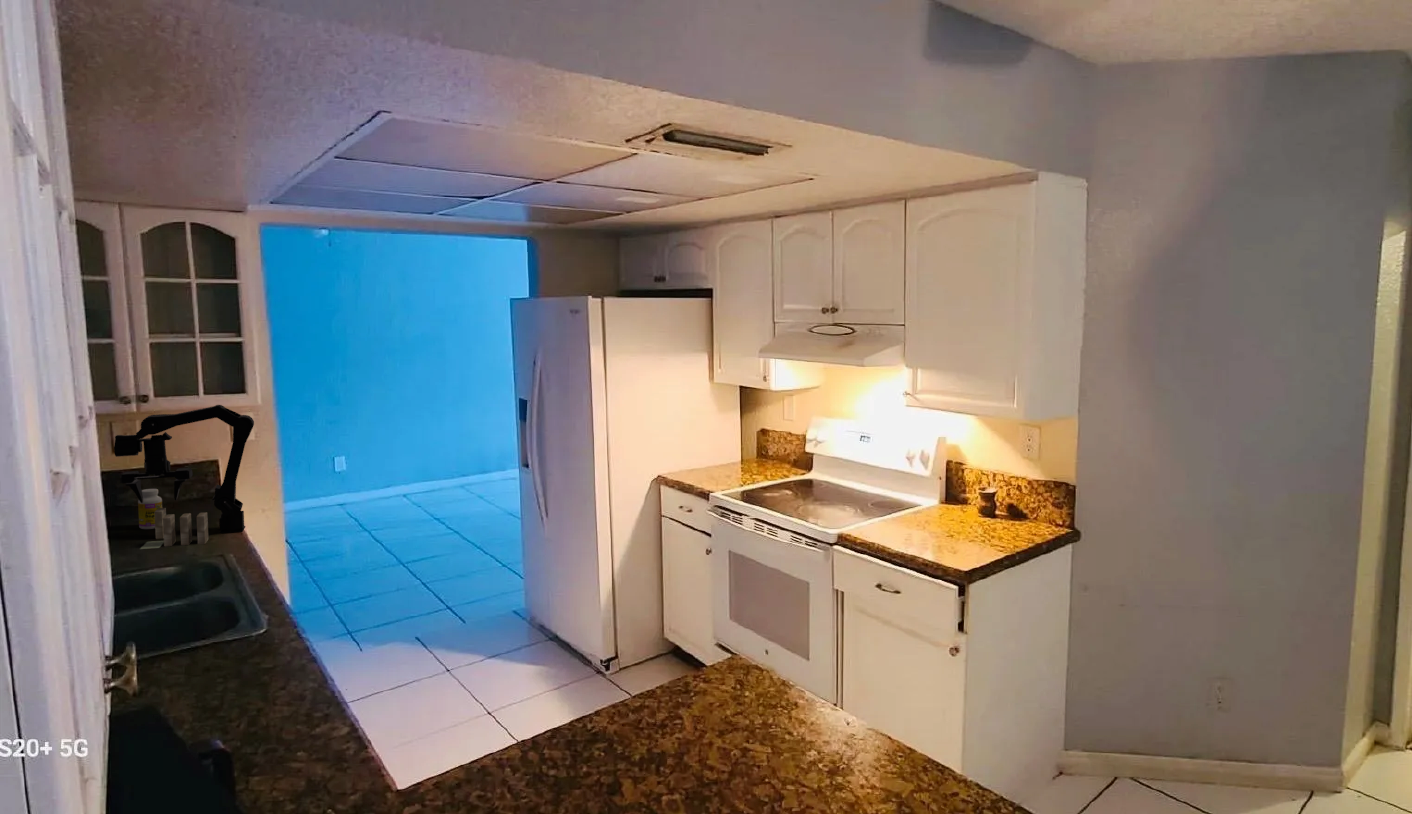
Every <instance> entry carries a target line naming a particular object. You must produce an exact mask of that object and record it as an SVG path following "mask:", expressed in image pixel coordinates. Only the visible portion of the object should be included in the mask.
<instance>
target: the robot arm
mask: <svg viewBox="0 0 1412 814" xmlns="http://www.w3.org/2000/svg"><path fill="white" fill-rule="evenodd" d="M211 419H219V420H220V421H222V422H224V423H226V425H228V426H230V427H232V445H231V450H230V453H229V457H228V461H227V464H226V469H225V472H224V476H223V481H222V483H221V485H220V484H217V485H216V486H215V488H214V494H213V497H212V500H211V501H214V502H213V504H214V507H215V508H216V509H217V510H219V511H220V517H219V518H218V521H219V523H218V524H219V531H220V532H219V533H221V534H226V533H227V534H228V533H241V532H244V530H245V528H246V525H245V511H244V510H242V508H243V506H244V503H243V502H242V501H240V500H239V499H238V498H236V497H237V495H236V494H237V479H238V476H239V475H238V474H239V470H240V468H241V463H242V460H243V454H244V451H245V447H246V443H247V440H248V439H249V437H250V435H251V432H252V431H253V429H254V425H255V421H254V418H253V417H251V416H250V415H247V414H240V413H239V412H236V411H234V410H232V409H230V408H227V407H225V406H224V405H222V404H216V405H213V406H210V407H203V408H199V409H193V410H188V411H183V412H179V413H172V414H171V413H167V414H166V413H164V414H163V413H161V414H151V415H147V416H146V417H145V418H144V419H143V420H142V421H141V423H140V429H139V430H138V431H137V432H136V433H135V434H128V435H126V434H116V435H115V436H114V446H113V453H114V456H115V457H118V458H119V457H132V456H139V453H143V455H144V463H143V467H144V469H145V472H144V473H140V472H139V470H133V471H124V472H123V473H122V474H120V476H119V484H125V486H126V487H130V489H131V490H132V491H133V493H134V494H135V496H136V497H137V499H138V500H139V501H140V502H141V503H143V495H142V490H143V489H142V487H141V482H142V480H150V479H165V478H175V480H174V481H173V484H174V485H173V496H174V501H177V500H178V497H179V494H180V490H181V487H182V485H183V483H185V482H186V481H187V480H189V479H191V478H192V477H193V476H194V475H193V469H192V468H191V467H184V468H183V467H181V468H177V469H176V470H174V471H173V470H172V471H171V461H170V460H168V458H167V452H166V451H167V449H166V441H171V439H172V438H173V436H171V435H170V434H168V432H167V430H170V429H172V428H175V427H178V426H183V425H187V424H193V423H197V422H202V421H206V420H211ZM162 432H163V434H159V433H162ZM149 435H150V437H149V438H148V437H147V436H149Z"/></svg>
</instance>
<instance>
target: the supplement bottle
mask: <svg viewBox="0 0 1412 814" xmlns="http://www.w3.org/2000/svg"><path fill="white" fill-rule="evenodd" d="M141 490H142V495H143V503H141V502H140V501H139V499H138V500H137V504H138V505H137V506H138V511H137V512H138V527H139V529H141V530H153V529H155V511H156V510H157V509H158V508H163V498H162V497H161V496H159V495H158V494H159V489H157V488H146V489H141Z"/></svg>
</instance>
